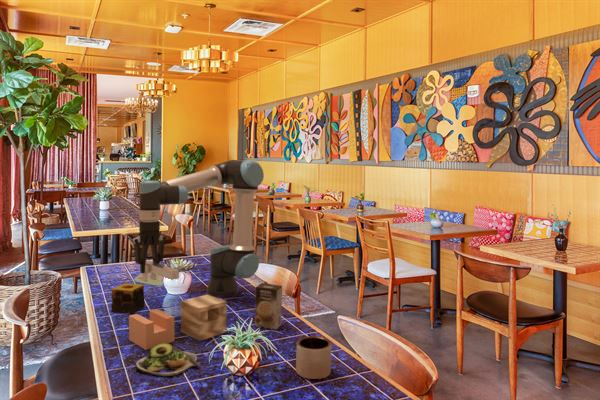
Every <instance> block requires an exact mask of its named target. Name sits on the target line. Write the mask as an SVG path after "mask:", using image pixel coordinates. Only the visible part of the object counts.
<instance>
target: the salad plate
mask: <svg viewBox="0 0 600 400" xmlns="http://www.w3.org/2000/svg"><path fill="white" fill-rule="evenodd" d="M197 360H198V357H197V355H196V354H195V353H194V352H188V351H185V350H184V351H183V350H181V349H179V348H178V347H176V346H173V345H172V344H170V343H161V344H158V345H156V346H154V347H153V348H151V349H149V354H148V355H146V356H144V357H143V358H140V359H139V360H137V361H136V363H135V367H136V370H138V371H139V372H140V373H144V374H148V375H151V376H152V375H153V376H162V377H171V376H177V375H180V374H183V373H185V372H186V371H187V370H189V369H191V368H193V367H199V366H201V364H200V362H198V361H197ZM167 369H168V370H169V369H171V370H174V371H166V372H159V371H163V370H167Z"/></svg>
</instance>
